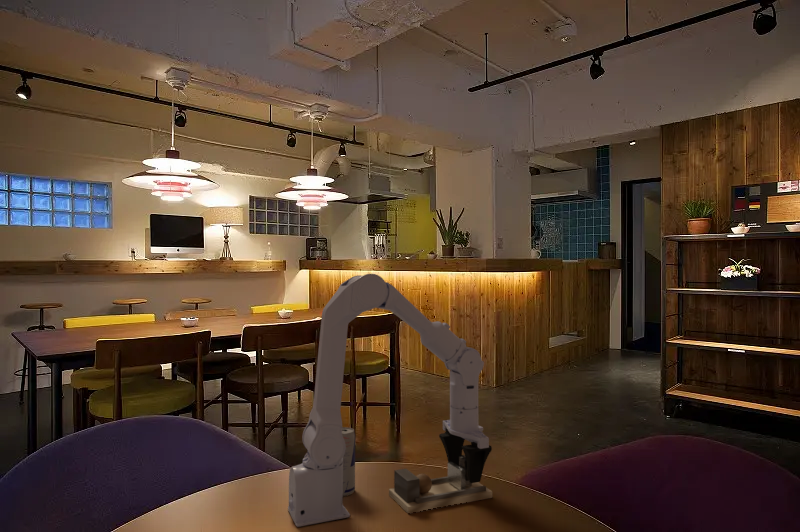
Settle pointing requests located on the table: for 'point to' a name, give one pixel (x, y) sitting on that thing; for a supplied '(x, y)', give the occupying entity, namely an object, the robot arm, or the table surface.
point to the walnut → (424, 483)
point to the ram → (459, 474)
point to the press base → (432, 492)
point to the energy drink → (349, 461)
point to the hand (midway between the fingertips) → (464, 475)
